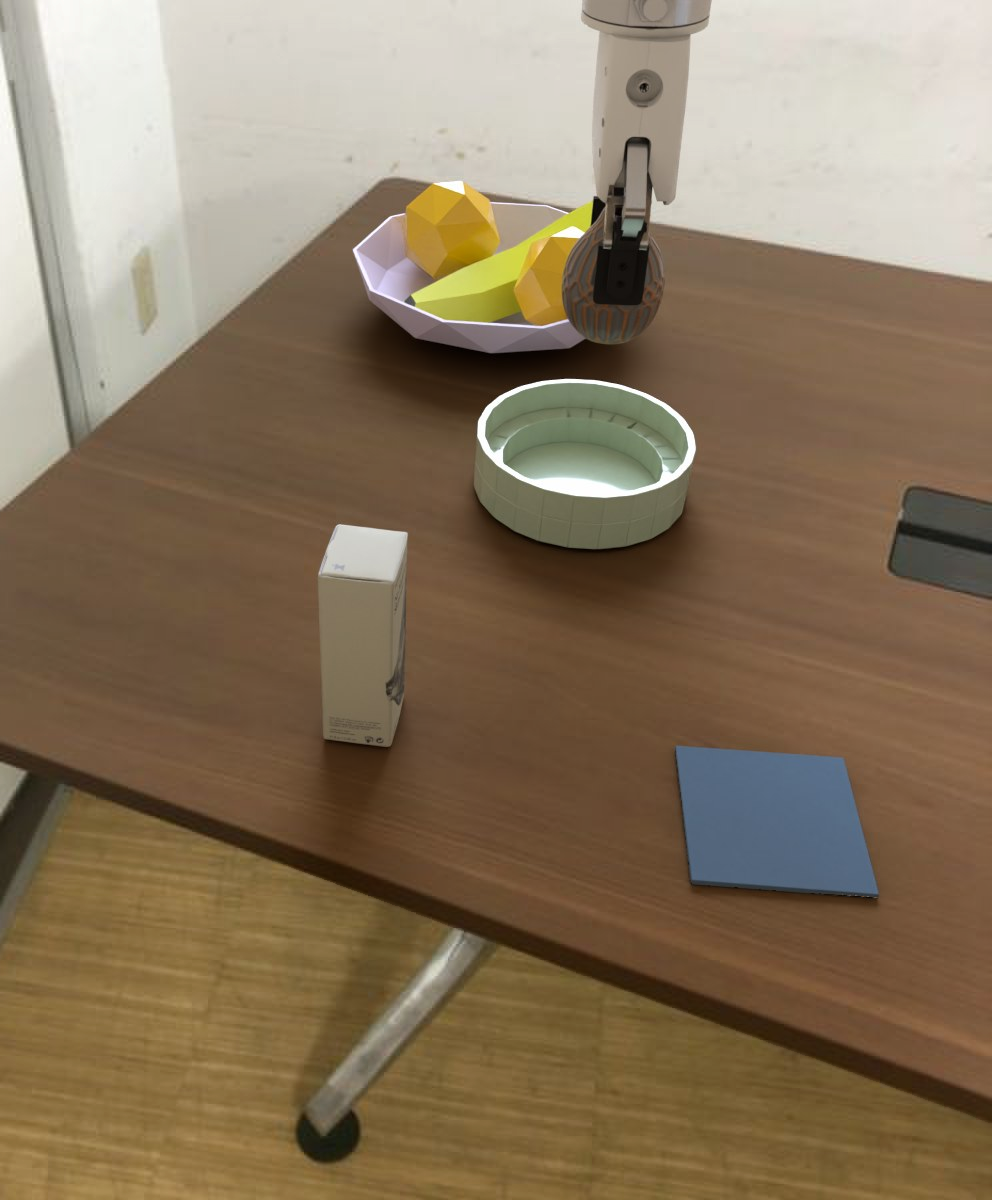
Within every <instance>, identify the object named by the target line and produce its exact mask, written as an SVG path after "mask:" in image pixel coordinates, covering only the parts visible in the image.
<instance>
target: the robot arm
mask: <svg viewBox="0 0 992 1200" xmlns="http://www.w3.org/2000/svg"><path fill="white" fill-rule="evenodd" d="M712 1H713V0H582V2H581V13H580V20H581V22H582V24H584V25H586V26H587V27H588V28H589V29H593V30H595V31H598V32H599V33H598V43H597V53H596V65H595V76H594V87H593V103H592V119H591V120H592V123H591V124H592V125H591V150H592V168H593V177H594V185H595V193H596V195H593V198H592V201H593V207H592V216H591V226H592V225H593V224H594V223H595V222H596V220H597V219H598V217H599V216H600V214H601V212H602V210H603V209H604V208H605V220H604V234H603V243H598V250H597V259H596V269H595V278H594V287H593V301H594V303H596V304H606V305H634V306H636V305H639V304H641V302H642V299H643V292H644V284H645V277H646V270H647V262H648V255H649V244H648V239H649V233H650V224H651V214H652V213H651V212H652V204H653V193H654V196H655V199H656V202H662V204H663V205H664V206H669V205H670V204H672V202H674V200H675V199H676V195H677V186H678V177H679V167H680V159H681V158H680V157H681V149H682V141H683V140H682V139H683V134H684V133H683V131H684V124H685V113H686V107H687V95H688V86H689V73H690V57H691V35H695V34H698V33H699V32H702V31H704V30H706V28H707V27H708V25H709V24H710V23H709V22H710V16H711V15H710V14H711V8H712ZM615 207H617V208H623V209H622V217H620V216H617V219H616V221H614V216H615ZM591 226H590V227H591Z"/></svg>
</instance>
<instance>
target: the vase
mask: <svg viewBox="0 0 992 1200" xmlns="http://www.w3.org/2000/svg"><path fill="white" fill-rule="evenodd" d="M622 209H623V208H617V207H615V216H614V221H616V219H617V216H620V217H622ZM604 220H605V208H604V209H603V210H602V212H601V214H600V216H599V217H598V219H597V220H596V222H595V223H594V224H593V225H592V226H591V227H590V228H589V229H588V230H587V231H586V232H585V233H584V234H583V235H582V236H581V237H580V238H579V239H578V241H577V242H576V243H575V245H574V246H573V248H572V250H571V252H570V254H569V256H568V258H567V261H566V264H565V267H564V271H563V277H562V301H563V306H564V310H565V313H566V315H567V318H568V320H569V321H570V323H571V324H572V326H573V327H574V328H575V329H576V330H577V331H578V332H579V333H580V334H581V335H582V336H583V337H584V338H586V339H585V340H588V341H590V342H593V343H597V344H602V345H620V344H625V343H628V342H630V341H632V340H634V339H635V338H637V337H638V336H639V335H641V334H642V333H643V332H645V330H646V329H648V327H649V326H650V325H651V323H652V322H653V321H654V319H655V317H656V316H657V314H658V312H659V309H660V306H661V304H662V300H663V296H664V291H665V284H666V273H665V271H666V270H665V264H664V259H663V254H662V253H661V249H660V248H659V246H658V244H657V242H656V240H655V239H654V237H653V236H652V234H651V233H650V232H649V239H648V244H649V255H648V262H647V270H646V277H645V284H644V292H643V299H642V302H641V304H639V305H636V306H634V305H606V304H596V303H594V301H593V287H594V278H595V269H596V259H597V250H598V243H603V234H604Z"/></svg>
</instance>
